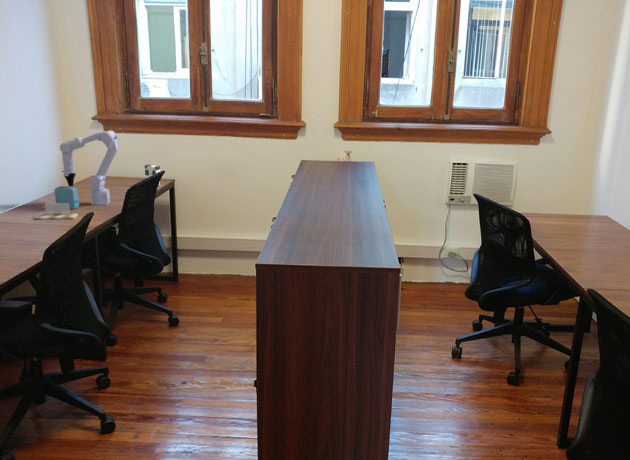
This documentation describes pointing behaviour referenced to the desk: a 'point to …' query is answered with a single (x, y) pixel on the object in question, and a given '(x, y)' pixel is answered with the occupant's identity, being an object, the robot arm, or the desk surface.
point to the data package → (67, 196)
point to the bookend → (56, 212)
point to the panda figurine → (151, 170)
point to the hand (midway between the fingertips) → (71, 186)
